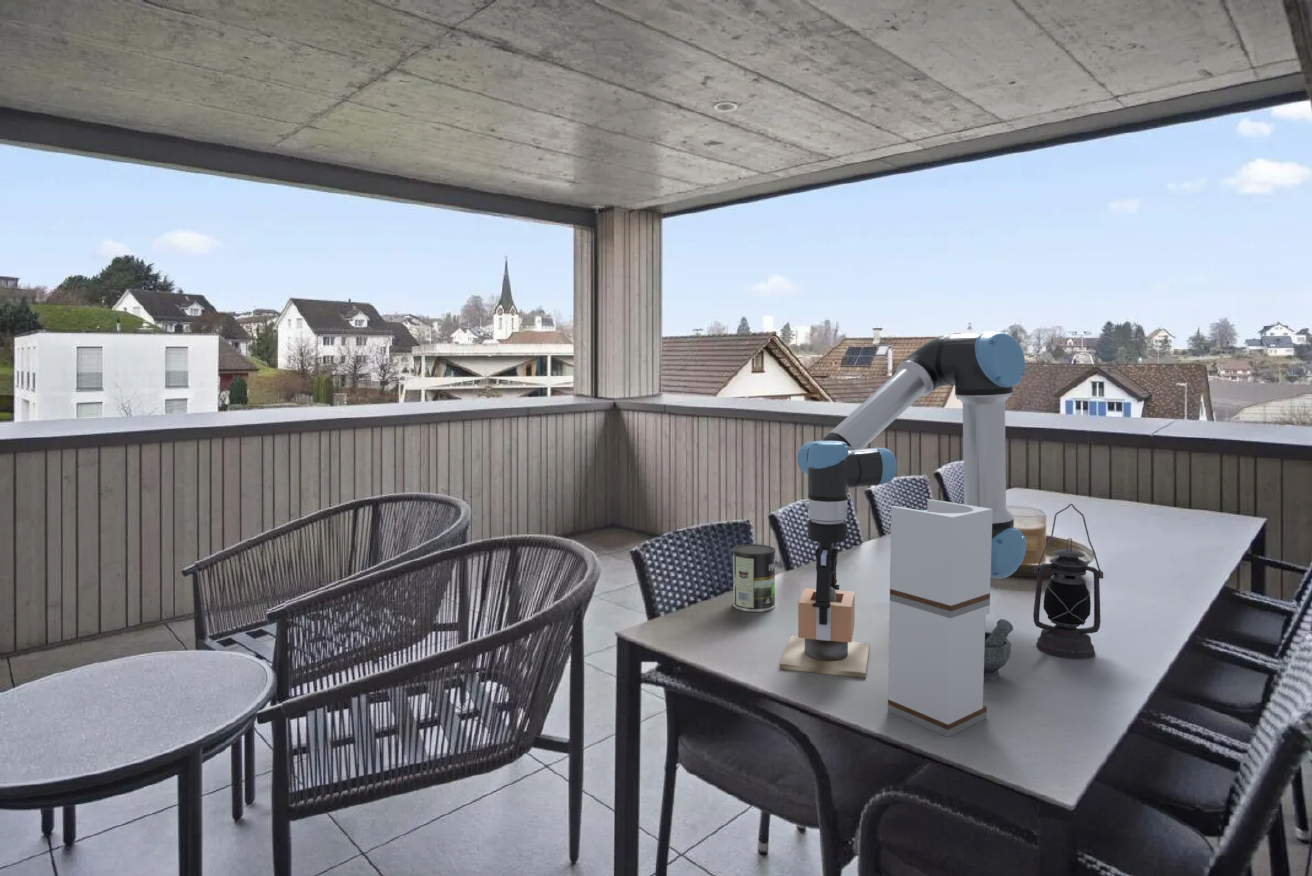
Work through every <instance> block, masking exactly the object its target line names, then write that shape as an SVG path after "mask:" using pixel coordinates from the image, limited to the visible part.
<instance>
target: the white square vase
mask: <svg viewBox="0 0 1312 876" xmlns="http://www.w3.org/2000/svg"><path fill="white" fill-rule="evenodd" d="M890 508H891V509H890V555H889V556H890V560H889V561H890V564H889V565H890V566H889V568H890V569H889V570H890V571H889V620H888V625H889V626H888V627H889V629H888V630H889V631H888V676H887V677H888V680H887V681H888V683H887V684H888V686H887V687H888V688H887V689H888V691H887V692H888V693H887V712H889V713H892V714H894V715H896V716H898V717H900V718H903V719H906V720H908V721H910V722H913V723H914V724H915V725H916V724H917V725H919V726H922V727H924V728H925V729H928V728H929V729H928V730H930V729H931V731H932V730H933V732H935V733H937V734H939V735H942V736H944V737H947V738H949V737H951V736H953V735H956V734H957V733H959V732H961V731H964V730H965V729H968V728H969V727H972V726H975V724H978V723H980V722H982V721H984V720H986V719H987V714H988V713H987V710H988V707H987V706H986V705H984V682H983V681H984V646H985V632H986V615H990V611H991V610H990V609H991V608H990V607H991V578H992V577H991V545H992V511H993V509H990V508H983V507H977V506H971V505H964V503H957V502H951V501H944V500H938V499H932V498H930V499H927V506H926V508H927V509H926V510H927V511H921V510H922V509H921V510H920V509H915V508H909V507H902V506H897V505H892V506H891V507H890Z"/></svg>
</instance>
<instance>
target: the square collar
mask: <svg viewBox="0 0 1312 876" xmlns="http://www.w3.org/2000/svg"><path fill="white" fill-rule="evenodd" d="M835 592H836V602H830V604H831V606H830V607H831V640H830V641H839V642H850V643H851V641H852V640H853V635H854V631H855V630H854V629H855V616H856V615H855V609H856V608H855V605H856V604H855V602H856V601H855V600H856V599H855V598H856V596H855V593H856V592H855V591H851V590H849V591H848V590H835ZM815 602H816V588H807V587H805V588H804V589H803V591H802V593H801V595H800V598H799V600H798V603H797V605H798V606H797V607H798V608H797V611H798V615H797V617H798V618H797V621H798V622H797V623H798V624H797V625H798V626H797V627H798V628H797V629H798V631H797V633H798V634H797V636H798V638H806V639H816V607H813V603H815Z"/></svg>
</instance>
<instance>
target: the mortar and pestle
mask: <svg viewBox="0 0 1312 876" xmlns="http://www.w3.org/2000/svg"><path fill="white" fill-rule="evenodd" d="M1013 630H1014V626H1013V624H1012V623H1011V622H1010V621H1009V620H1006V619H1003V618H999V619H998V620H997V622H996V626H995V627H994V628H993V630H992V631H990V632H988V631H985V646H984V681H983V683H987V682H996V681H997V680H999V679H1000V674H999V673H1000V672H999V670H1000V669H1001V668H1002V667H1004V666H1005V665H1006V664H1007V662H1008V661H1009V659H1010V655H1011V650H1012V644H1011V643H1012V642H1010V640H1009V639H1008V635H1009V634H1010V633H1011V632H1012V631H1013Z"/></svg>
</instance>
